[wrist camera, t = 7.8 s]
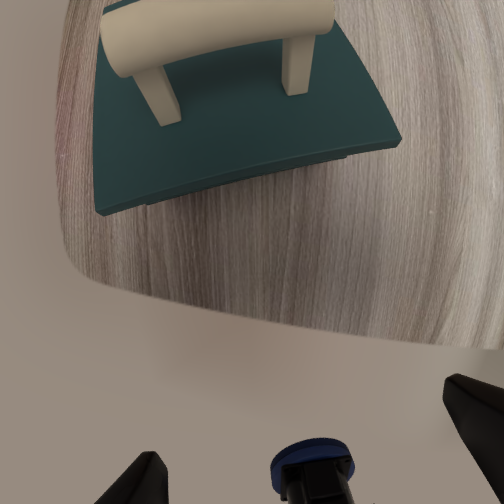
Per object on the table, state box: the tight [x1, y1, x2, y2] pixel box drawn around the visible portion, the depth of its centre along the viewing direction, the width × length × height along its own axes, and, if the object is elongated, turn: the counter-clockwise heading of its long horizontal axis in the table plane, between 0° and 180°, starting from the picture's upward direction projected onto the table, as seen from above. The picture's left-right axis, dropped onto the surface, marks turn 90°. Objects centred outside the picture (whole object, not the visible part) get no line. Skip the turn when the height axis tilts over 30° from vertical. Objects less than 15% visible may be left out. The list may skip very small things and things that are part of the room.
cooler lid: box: [93, 0, 402, 216], centre depth 8 cm, size 11×10×5 cm
